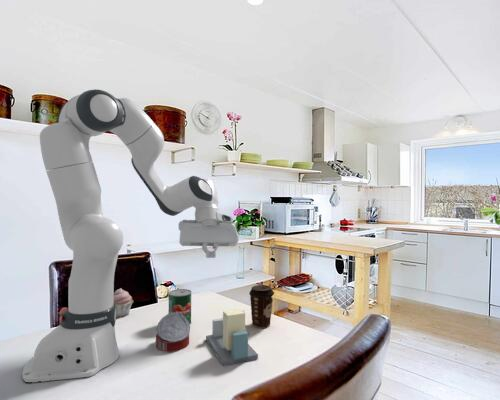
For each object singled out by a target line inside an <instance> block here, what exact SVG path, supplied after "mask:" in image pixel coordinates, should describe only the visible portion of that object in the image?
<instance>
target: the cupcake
mask: <svg viewBox="0 0 500 400" xmlns="http://www.w3.org/2000/svg"><path fill="white" fill-rule="evenodd" d="M133 303H134V300H133V297H132V296H131V295H130V294H129V292H128V291H126V290H124V289H122V287H121V288H119V289H116V290H115V291H114V304H115V308H116V318H123V317H126V316H129V314H130V312H131V307H132V305H133ZM122 316H123V317H122Z"/></svg>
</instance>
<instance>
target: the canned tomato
mask: <svg viewBox="0 0 500 400" xmlns="http://www.w3.org/2000/svg"><path fill="white" fill-rule="evenodd" d="M172 312H177V313H181V314H183V315H184V316H185V317H186V319H187V320H188V322H189V325H190V326H191V324H192V290H191V289H187V288H180V289H179V288H177V289H172V290H170V291H169V292H168V313H172Z"/></svg>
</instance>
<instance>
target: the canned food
mask: <svg viewBox="0 0 500 400" xmlns="http://www.w3.org/2000/svg"><path fill="white" fill-rule="evenodd" d="M190 331H191V324H190V325H189V322H188V320H187V319H186V317H185V316H184V315H183V314H181V313H177V312H172V313H169V312H168V313H167V314H166V315H164V316H162V317H161V318H160V320H159V322H158V323H157V327H156V335H155V347H156V349H157V350H158V351H161V352H167V353H168V352H169V353H170V352H171V353H173V352H177V351H178V352H179V351H180V350H184V349H185V348H187V347H188V346H189V345H190V333H191V332H190Z"/></svg>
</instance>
